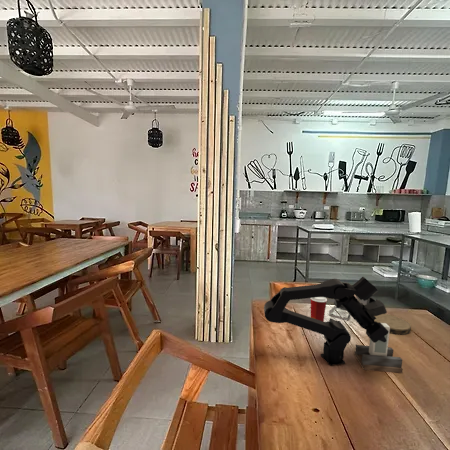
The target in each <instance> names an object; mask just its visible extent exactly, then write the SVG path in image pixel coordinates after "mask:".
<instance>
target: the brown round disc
mask: <svg viewBox="0 0 450 450" xmlns="http://www.w3.org/2000/svg"><path fill="white" fill-rule="evenodd" d="M375 317H376V319H375V320H374V322H375V321H376V322H378V323H386V324H387V325H388V326H389V327H390V332H389V335H390V334H391V335H397V336H407V335H409V334H410V332H411V330H412V325H411V323H410V322H409V321H408V320H406V319H405V318H402V317H399V316H396V315H393V314H389V313H386V314H381V315H378V316H375Z"/></svg>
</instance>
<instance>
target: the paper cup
mask: <svg viewBox="0 0 450 450" xmlns="http://www.w3.org/2000/svg"><path fill="white" fill-rule="evenodd" d="M309 299H310V317H311V318H314V319H317V320H320V321H323V322H325V321H324V320H325V315H326V314H325V313H326V307H327V301H328V298H325V297H315V298H309Z"/></svg>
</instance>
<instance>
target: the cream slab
mask: <svg viewBox="0 0 450 450" xmlns="http://www.w3.org/2000/svg"><path fill="white" fill-rule="evenodd" d="M381 324H382V325H383V326H384V327H385V328H386V329H387V330H388V331H389V332H390V327H389V326H388V325H387V324H386V323H381ZM372 325H374V324H372ZM389 332H388V334H387V335H385V338H386V340H387V341H386V342H382V341H380V340H378V341H377V342H376V343H374V342H373V341H372V340H371V339H370V338H369V344H368V346H369V353H370V355H378V356H387V350H388V347H389V341H390V333H389Z"/></svg>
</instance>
